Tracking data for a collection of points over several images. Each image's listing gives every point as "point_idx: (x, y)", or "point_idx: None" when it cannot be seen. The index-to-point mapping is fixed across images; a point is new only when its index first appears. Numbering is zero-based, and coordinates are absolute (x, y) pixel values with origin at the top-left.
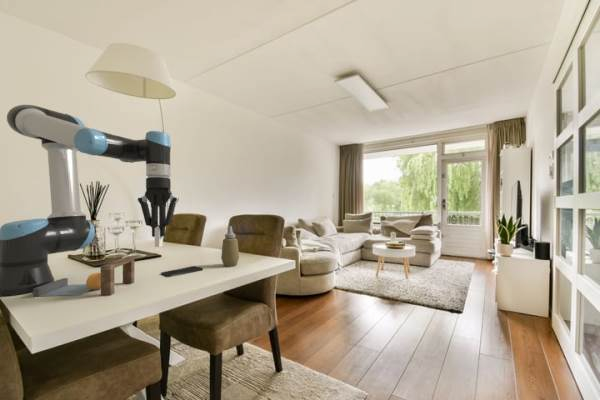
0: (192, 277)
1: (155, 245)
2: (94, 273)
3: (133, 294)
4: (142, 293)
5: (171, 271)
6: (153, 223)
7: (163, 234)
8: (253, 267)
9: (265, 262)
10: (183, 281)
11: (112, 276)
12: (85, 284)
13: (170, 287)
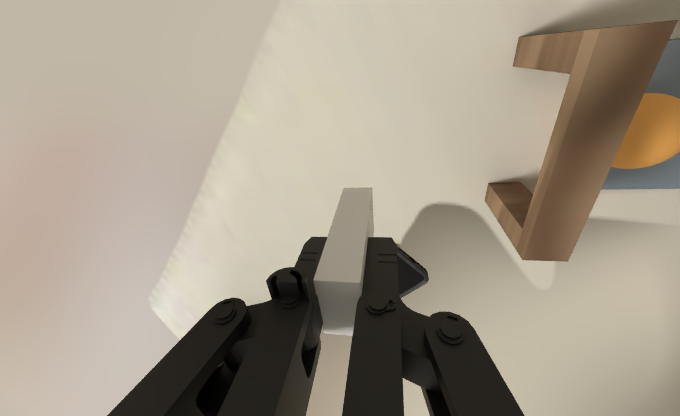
0: (314, 230)
1: (366, 191)
2: (677, 135)
3: (427, 48)
4: (398, 61)
5: (401, 286)
6: (372, 329)
7: (303, 246)
8: (201, 295)
9: None
10: (321, 193)
11: (553, 51)
12: (677, 184)
13: (331, 131)
